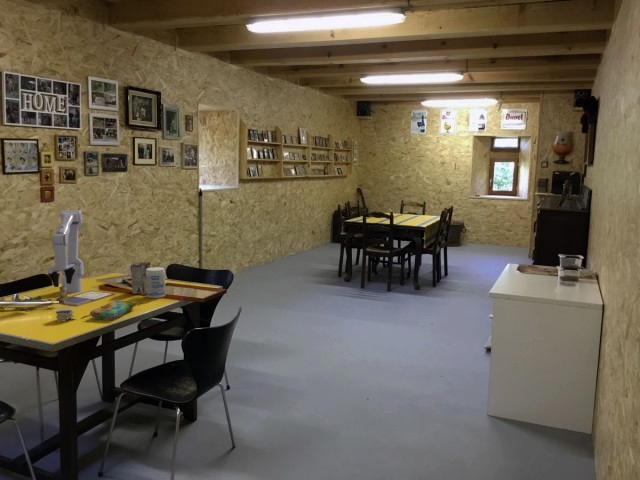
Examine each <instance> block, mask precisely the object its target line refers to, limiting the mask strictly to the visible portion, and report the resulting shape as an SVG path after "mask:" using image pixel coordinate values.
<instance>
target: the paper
mask: <svg viewBox="0 0 640 480" xmlns="http://www.w3.org/2000/svg"><path fill="white" fill-rule="evenodd" d="M90 291H91V290H90ZM93 291H94V290H92V291H91V292H88V291H86V292H87V293H84V292H83V293H84V294H81V293H79V294H80V295H77V294H76V295H77V296H74V295H73V296H74V297H78V298H86V299H93V300H95V299H99V298H102V297H105V296H108V295H112V294H109V293H110V292H107V293H101V292H102V291H100V292H93Z"/></svg>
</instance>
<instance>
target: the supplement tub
mask: <svg viewBox="0 0 640 480" xmlns="http://www.w3.org/2000/svg"><path fill="white" fill-rule="evenodd" d="M145 296H146V298H149V299H160V298H163V297H165V296H166V271H165V267H162V266H161V267H160V266H159V267H156V266H155V267H150V268H147V269H146V293H145Z"/></svg>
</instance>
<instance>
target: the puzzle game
mask: <svg viewBox="0 0 640 480" xmlns="http://www.w3.org/2000/svg"><path fill="white" fill-rule="evenodd" d="M136 306H138V301H130V300H129V301H125V300H113V301H111V302H108V303H106V304H104V305H101V306H99V307H97V308H95V309H93V310H91V311H90V312H89V314H90V316H91V317H92V318H93V319H94V320H101V319H106V320H105V321H115V320H117V319H119V318H120V316H121V317H123V316H125V315H126V314H128V313H130V312H132V311H133V309H134V308H135V307H136ZM118 317H119V318H118ZM116 318H117V319H116ZM114 319H115V320H114Z"/></svg>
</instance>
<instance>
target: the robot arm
mask: <svg viewBox="0 0 640 480" xmlns="http://www.w3.org/2000/svg"><path fill="white" fill-rule="evenodd" d="M59 218H60V221H61V224H59V226H58V227H57V230H56V231H55V233H54V234H52V235H51V239H50V241H51V244H52V249H53V255H54V256H53V257H54V267H51V268H48V269H47V275H48V277H49V278H50V279H51V281H52V285H53V287H54V288H59V283H60V282H59V280H60V275H61V274H62V275H63V277H62V279H61V287H63V286H65V287H66V292H67V293H68V294H76V293H77V294H78V293H80V292H81V293H82V292H83V290H82V276H83V275H84V273H85V267H84V261H83V260H81V259H80V258H79V229H80V228H81V227H83V212H82V210H81V209H73V210H72V209H71V210H64V209H62V210H61V211H60V214H59ZM67 245H68V246H67ZM58 272H61V274H60V273H58Z"/></svg>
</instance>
